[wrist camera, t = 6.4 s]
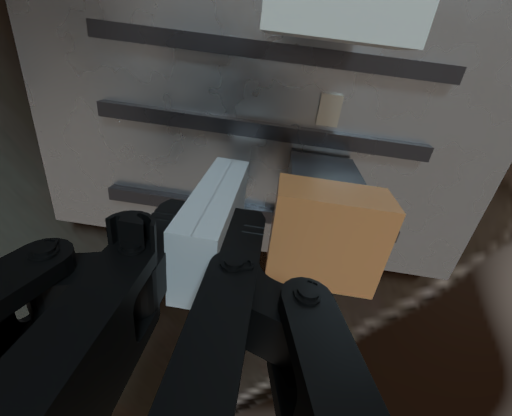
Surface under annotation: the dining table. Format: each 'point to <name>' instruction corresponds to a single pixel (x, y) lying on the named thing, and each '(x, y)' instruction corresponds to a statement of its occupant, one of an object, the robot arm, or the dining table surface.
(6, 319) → the robot arm
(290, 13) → the fader
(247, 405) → the dining table surface
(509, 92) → the console
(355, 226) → the fader
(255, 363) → the dining table surface
